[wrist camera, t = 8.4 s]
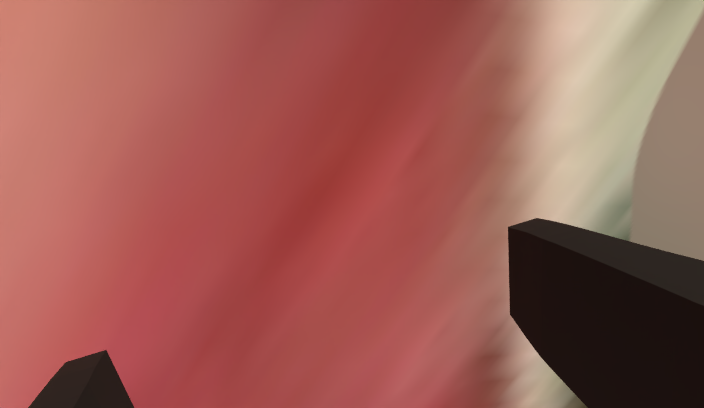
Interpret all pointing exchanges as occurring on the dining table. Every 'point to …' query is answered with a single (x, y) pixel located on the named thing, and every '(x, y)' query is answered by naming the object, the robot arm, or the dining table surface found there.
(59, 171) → the dining table surface
